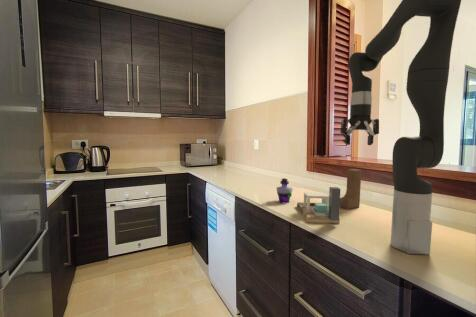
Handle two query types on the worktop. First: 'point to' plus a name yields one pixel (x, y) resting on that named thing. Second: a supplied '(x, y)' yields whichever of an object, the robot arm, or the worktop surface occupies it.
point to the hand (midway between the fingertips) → (358, 144)
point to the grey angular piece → (331, 205)
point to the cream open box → (315, 195)
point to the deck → (311, 217)
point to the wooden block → (352, 190)
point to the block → (320, 207)
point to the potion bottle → (284, 191)
